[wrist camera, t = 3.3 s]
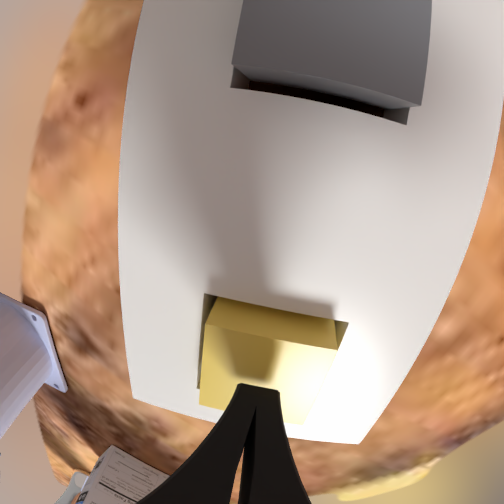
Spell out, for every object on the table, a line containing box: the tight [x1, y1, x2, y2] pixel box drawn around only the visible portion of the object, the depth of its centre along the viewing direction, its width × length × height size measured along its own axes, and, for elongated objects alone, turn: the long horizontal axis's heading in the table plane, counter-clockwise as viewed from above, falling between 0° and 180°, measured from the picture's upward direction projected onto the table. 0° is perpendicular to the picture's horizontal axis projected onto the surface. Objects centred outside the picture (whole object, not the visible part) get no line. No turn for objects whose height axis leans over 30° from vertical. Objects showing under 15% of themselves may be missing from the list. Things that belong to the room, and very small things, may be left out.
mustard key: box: [199, 296, 338, 425], centre depth 12 cm, size 4×4×3 cm
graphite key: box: [231, 0, 432, 110], centre depth 6 cm, size 4×4×3 cm
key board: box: [118, 0, 504, 444], centre depth 11 cm, size 12×22×3 cm, turn 171°
